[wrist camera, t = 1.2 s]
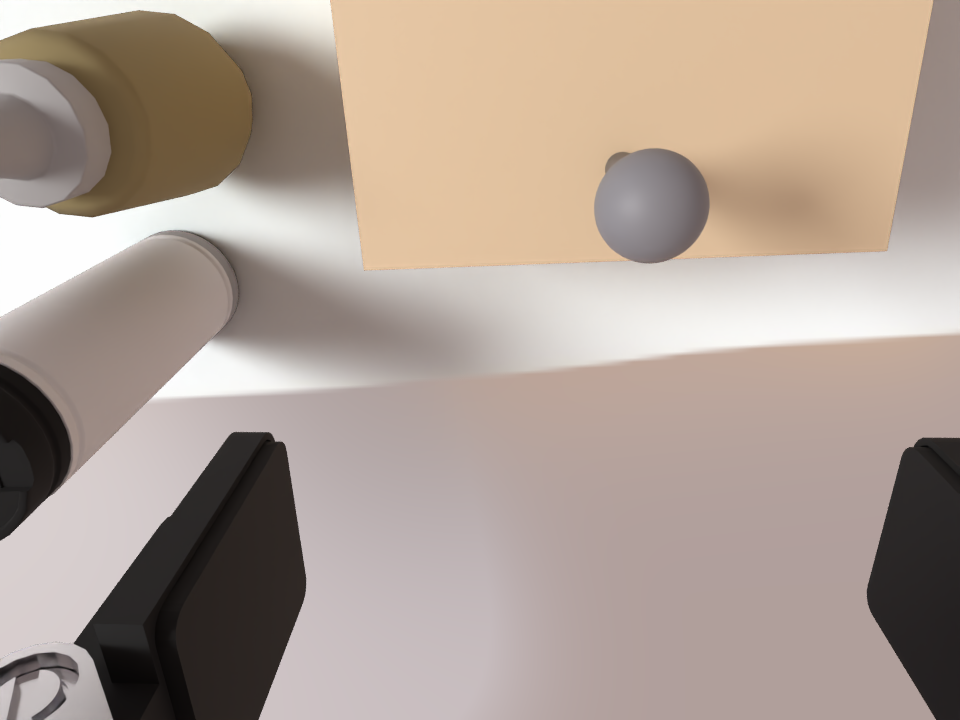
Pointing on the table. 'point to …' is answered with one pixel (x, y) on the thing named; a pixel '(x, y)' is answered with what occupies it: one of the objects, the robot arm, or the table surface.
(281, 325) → the table surface
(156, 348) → the travel mug
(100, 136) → the squeeze bottle
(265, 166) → the table surface
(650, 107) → the lid flap
